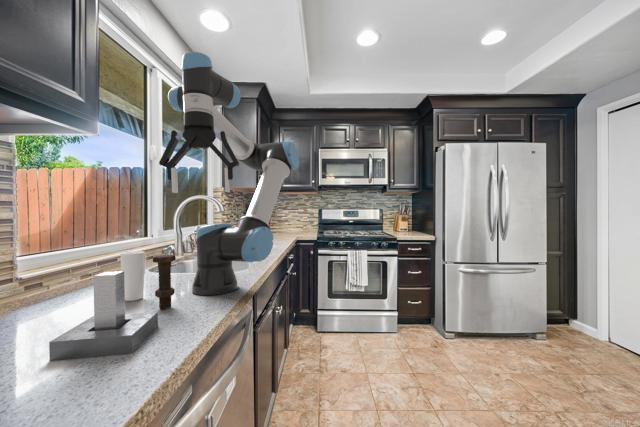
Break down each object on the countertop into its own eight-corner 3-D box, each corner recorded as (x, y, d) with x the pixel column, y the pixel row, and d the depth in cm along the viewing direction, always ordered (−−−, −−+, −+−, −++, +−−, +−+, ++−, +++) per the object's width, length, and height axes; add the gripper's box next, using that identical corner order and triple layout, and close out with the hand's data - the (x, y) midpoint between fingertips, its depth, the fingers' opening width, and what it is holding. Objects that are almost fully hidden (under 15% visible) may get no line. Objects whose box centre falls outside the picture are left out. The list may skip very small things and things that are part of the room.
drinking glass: (125, 297, 97) (124, 251, 97) (148, 295, 99) (147, 250, 99) (118, 303, 91) (117, 254, 91) (143, 301, 93) (142, 253, 93)
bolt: (150, 309, 85) (149, 256, 85) (166, 304, 89) (165, 254, 89) (163, 311, 82) (162, 257, 82) (179, 306, 86) (178, 255, 86)
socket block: (92, 331, 69) (92, 316, 69) (158, 326, 71) (157, 311, 71) (49, 360, 55) (49, 342, 55) (132, 353, 58) (132, 335, 58)
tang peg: (105, 336, 65) (103, 272, 65) (125, 334, 65) (124, 271, 65) (94, 344, 61) (93, 275, 61) (116, 342, 62) (115, 274, 61)
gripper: (143, 108, 75) (146, 192, 75) (244, 110, 79) (247, 190, 79) (154, 117, 82) (157, 193, 83) (247, 119, 86) (249, 192, 87)
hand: (201, 192), depth 81 cm, fingers open, 13 cm apart
